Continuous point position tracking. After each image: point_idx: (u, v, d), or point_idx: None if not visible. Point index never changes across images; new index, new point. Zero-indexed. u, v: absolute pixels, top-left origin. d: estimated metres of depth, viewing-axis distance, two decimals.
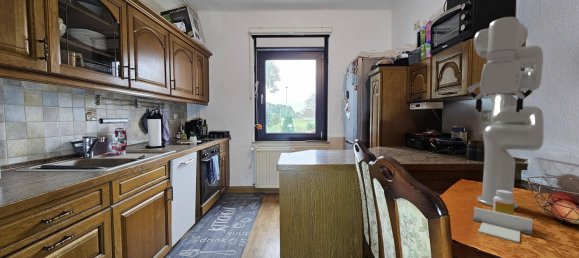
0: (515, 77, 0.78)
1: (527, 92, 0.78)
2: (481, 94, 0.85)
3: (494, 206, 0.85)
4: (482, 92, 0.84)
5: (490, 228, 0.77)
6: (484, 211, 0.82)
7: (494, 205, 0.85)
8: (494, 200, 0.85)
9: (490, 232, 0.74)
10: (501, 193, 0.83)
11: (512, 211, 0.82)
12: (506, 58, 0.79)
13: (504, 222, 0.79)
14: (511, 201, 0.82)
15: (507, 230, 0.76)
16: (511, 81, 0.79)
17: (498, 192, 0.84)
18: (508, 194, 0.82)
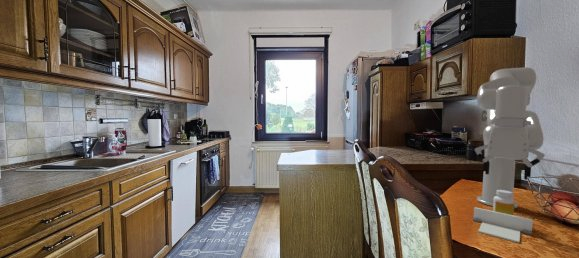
0: (523, 145, 0.79)
1: (535, 161, 0.78)
2: (489, 157, 0.86)
3: (494, 206, 0.85)
4: (490, 155, 0.85)
5: (490, 228, 0.77)
6: (484, 211, 0.82)
7: (494, 205, 0.85)
8: (494, 200, 0.85)
9: (490, 232, 0.74)
10: (501, 193, 0.83)
11: (512, 211, 0.82)
12: (514, 126, 0.80)
13: (504, 222, 0.79)
14: (511, 201, 0.82)
15: (507, 230, 0.76)
16: (519, 149, 0.80)
17: (498, 192, 0.84)
18: (508, 194, 0.82)
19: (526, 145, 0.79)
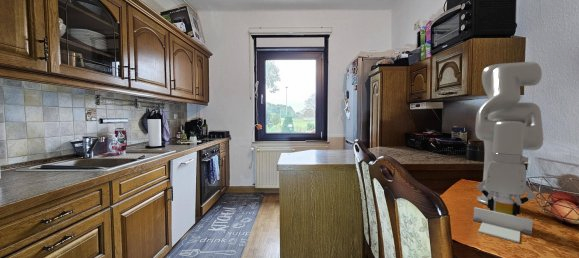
0: (520, 182, 0.80)
1: (524, 199, 0.80)
2: (491, 194, 0.86)
3: (494, 206, 0.85)
4: (487, 189, 0.86)
5: (490, 228, 0.77)
6: (484, 211, 0.82)
7: (494, 205, 0.85)
8: (494, 200, 0.85)
9: (490, 232, 0.74)
10: (501, 193, 0.83)
11: (512, 211, 0.82)
12: (511, 163, 0.80)
13: (504, 222, 0.79)
14: (511, 201, 0.82)
15: (507, 230, 0.76)
16: (516, 185, 0.81)
17: None
18: (508, 194, 0.82)
19: (523, 182, 0.80)
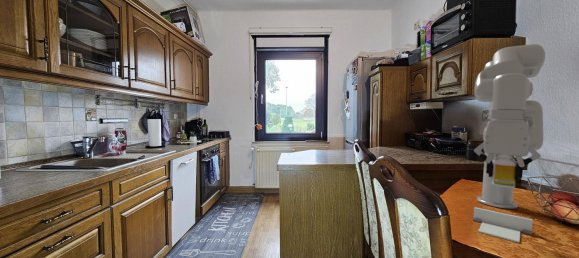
0: (523, 140, 0.71)
1: (527, 160, 0.71)
2: (490, 156, 0.76)
3: (493, 170, 0.76)
4: (486, 152, 0.77)
5: (490, 228, 0.77)
6: (484, 211, 0.82)
7: (494, 169, 0.76)
8: (494, 163, 0.76)
9: (490, 232, 0.74)
10: (501, 154, 0.74)
11: (514, 174, 0.73)
12: (513, 119, 0.71)
13: (504, 222, 0.79)
14: (513, 163, 0.73)
15: (507, 230, 0.76)
16: (518, 144, 0.72)
17: None
18: (509, 155, 0.73)
19: (526, 140, 0.71)
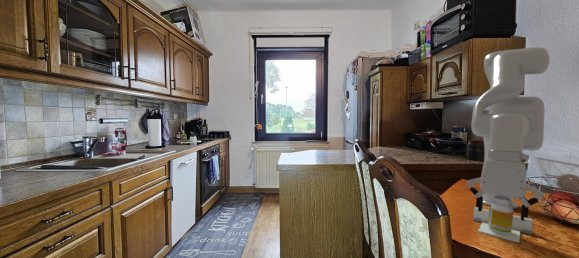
0: (520, 182, 0.70)
1: (533, 200, 0.70)
2: (482, 192, 0.77)
3: (490, 215, 0.76)
4: (483, 191, 0.76)
5: None
6: (484, 211, 0.82)
7: (491, 213, 0.75)
8: (491, 208, 0.76)
9: (490, 232, 0.74)
10: (499, 200, 0.74)
11: (511, 221, 0.73)
12: (510, 161, 0.71)
13: None
14: (510, 210, 0.73)
15: None
16: (515, 186, 0.71)
17: (496, 199, 0.75)
18: (507, 202, 0.73)
19: (523, 182, 0.70)
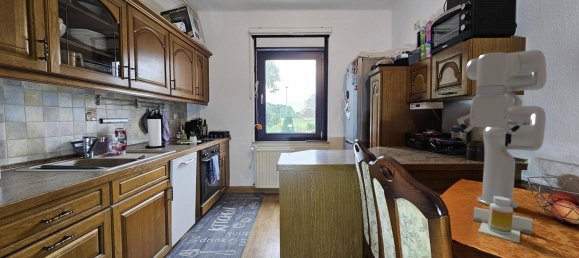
0: (504, 113, 0.79)
1: (515, 127, 0.79)
2: (471, 127, 0.86)
3: (490, 215, 0.76)
4: (472, 125, 0.85)
5: None
6: (484, 211, 0.82)
7: (490, 213, 0.76)
8: (490, 208, 0.76)
9: (490, 232, 0.74)
10: (499, 200, 0.74)
11: (510, 221, 0.73)
12: (495, 94, 0.80)
13: None
14: (510, 209, 0.73)
15: None
16: (500, 116, 0.80)
17: (495, 199, 0.75)
18: (507, 201, 0.73)
19: (506, 112, 0.79)
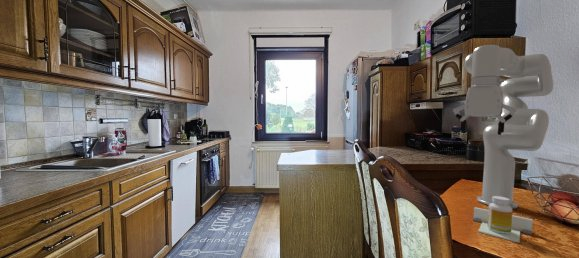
0: (496, 102, 0.83)
1: (508, 116, 0.82)
2: (466, 116, 0.89)
3: (490, 215, 0.76)
4: (466, 114, 0.89)
5: None
6: (484, 211, 0.82)
7: (490, 214, 0.76)
8: (490, 208, 0.76)
9: (490, 232, 0.74)
10: (498, 200, 0.74)
11: (510, 220, 0.73)
12: (488, 84, 0.83)
13: None
14: (509, 209, 0.73)
15: None
16: (493, 105, 0.83)
17: (494, 199, 0.75)
18: (506, 201, 0.73)
19: (499, 101, 0.83)
